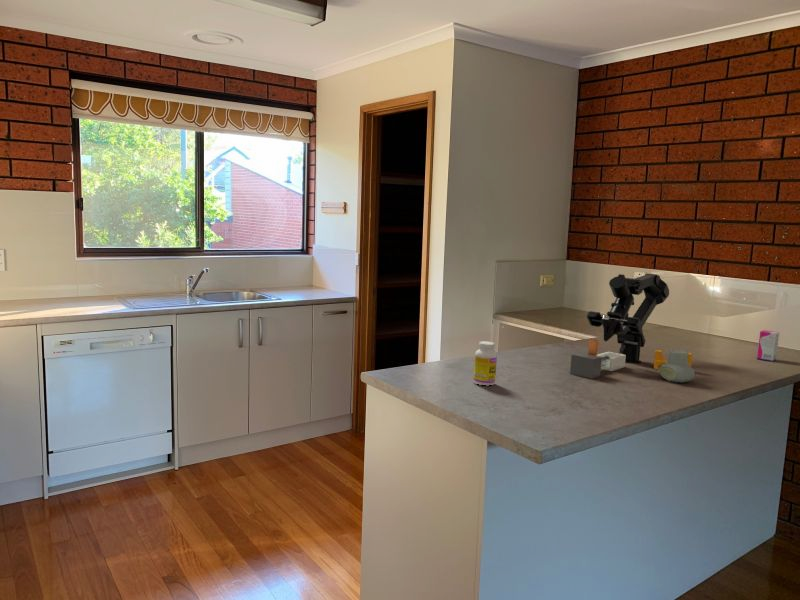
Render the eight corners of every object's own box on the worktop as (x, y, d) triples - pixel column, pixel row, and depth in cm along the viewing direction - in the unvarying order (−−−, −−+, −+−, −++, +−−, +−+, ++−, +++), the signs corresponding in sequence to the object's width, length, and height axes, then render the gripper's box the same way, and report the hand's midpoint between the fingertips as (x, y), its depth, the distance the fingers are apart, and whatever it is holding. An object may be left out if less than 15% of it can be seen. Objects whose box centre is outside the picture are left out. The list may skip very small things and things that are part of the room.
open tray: (607, 363, 231) (608, 351, 230) (624, 366, 226) (625, 354, 226) (594, 367, 223) (595, 355, 222) (611, 371, 219) (613, 358, 218)
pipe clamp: (655, 369, 225) (656, 352, 224) (653, 367, 229) (655, 349, 228) (691, 373, 222) (693, 355, 221) (689, 370, 226) (691, 353, 225)
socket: (578, 371, 216) (579, 352, 215) (600, 376, 210) (601, 356, 210) (569, 373, 212) (571, 354, 211) (592, 378, 206) (593, 359, 205)
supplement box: (776, 360, 252) (780, 331, 250) (772, 362, 247) (776, 333, 246) (760, 357, 256) (763, 329, 254) (756, 359, 251) (759, 331, 250)
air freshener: (653, 377, 213) (657, 348, 212) (672, 375, 216) (675, 347, 215) (679, 385, 203) (683, 355, 202) (698, 384, 206) (701, 354, 205)
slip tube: (600, 364, 223) (602, 335, 222) (609, 366, 220) (612, 337, 219) (578, 370, 211) (581, 340, 210) (588, 373, 209) (591, 342, 208)
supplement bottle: (489, 388, 189) (492, 346, 187) (469, 384, 193) (472, 342, 191) (498, 383, 195) (501, 342, 193) (478, 379, 198) (481, 339, 196)
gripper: (652, 324, 224) (636, 359, 218) (602, 316, 237) (586, 349, 230) (645, 304, 217) (629, 339, 211) (594, 297, 230) (577, 330, 223)
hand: (605, 340), depth 219 cm, fingers closed
